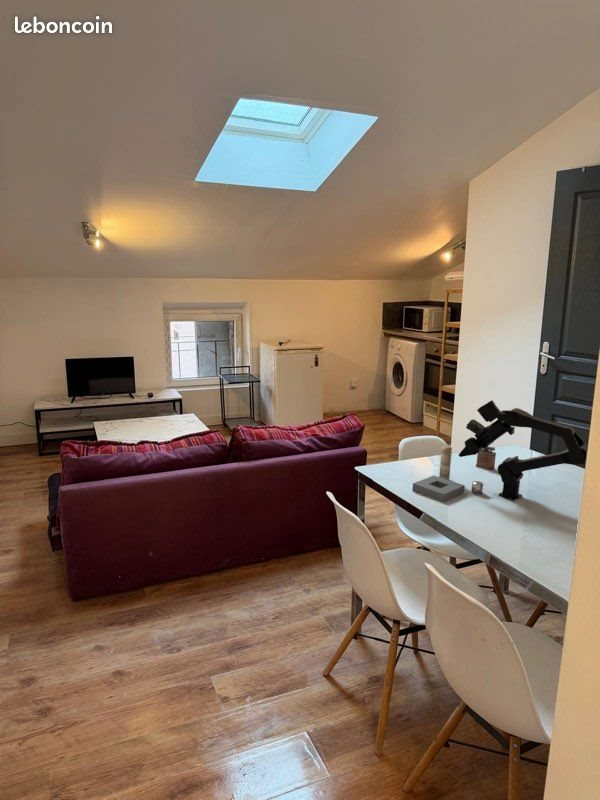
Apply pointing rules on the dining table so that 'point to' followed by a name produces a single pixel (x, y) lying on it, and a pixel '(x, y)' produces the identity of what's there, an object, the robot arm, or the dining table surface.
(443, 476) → the birch pin
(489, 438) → the robot arm
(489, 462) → the lighter
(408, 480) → the dining table surface
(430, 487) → the plate
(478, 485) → the steel stub
